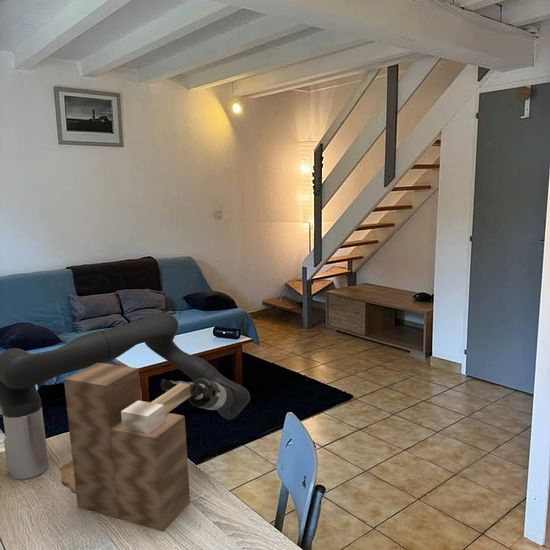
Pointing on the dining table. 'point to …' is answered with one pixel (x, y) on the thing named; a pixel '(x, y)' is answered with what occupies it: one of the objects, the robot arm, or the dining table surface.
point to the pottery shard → (68, 475)
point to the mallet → (153, 410)
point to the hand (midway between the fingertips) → (176, 385)
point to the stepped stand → (124, 451)
